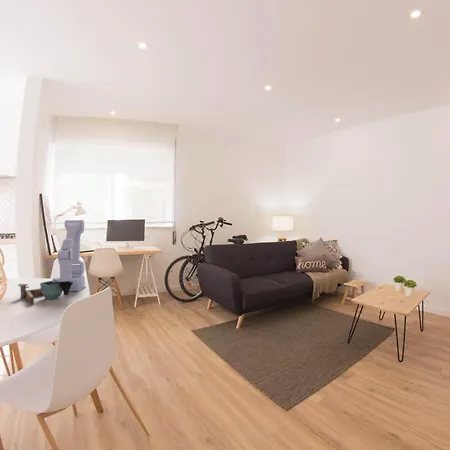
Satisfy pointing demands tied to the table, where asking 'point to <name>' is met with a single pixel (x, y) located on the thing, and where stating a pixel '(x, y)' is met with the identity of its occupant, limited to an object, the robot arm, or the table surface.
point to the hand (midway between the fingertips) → (66, 294)
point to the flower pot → (51, 289)
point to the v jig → (29, 293)
